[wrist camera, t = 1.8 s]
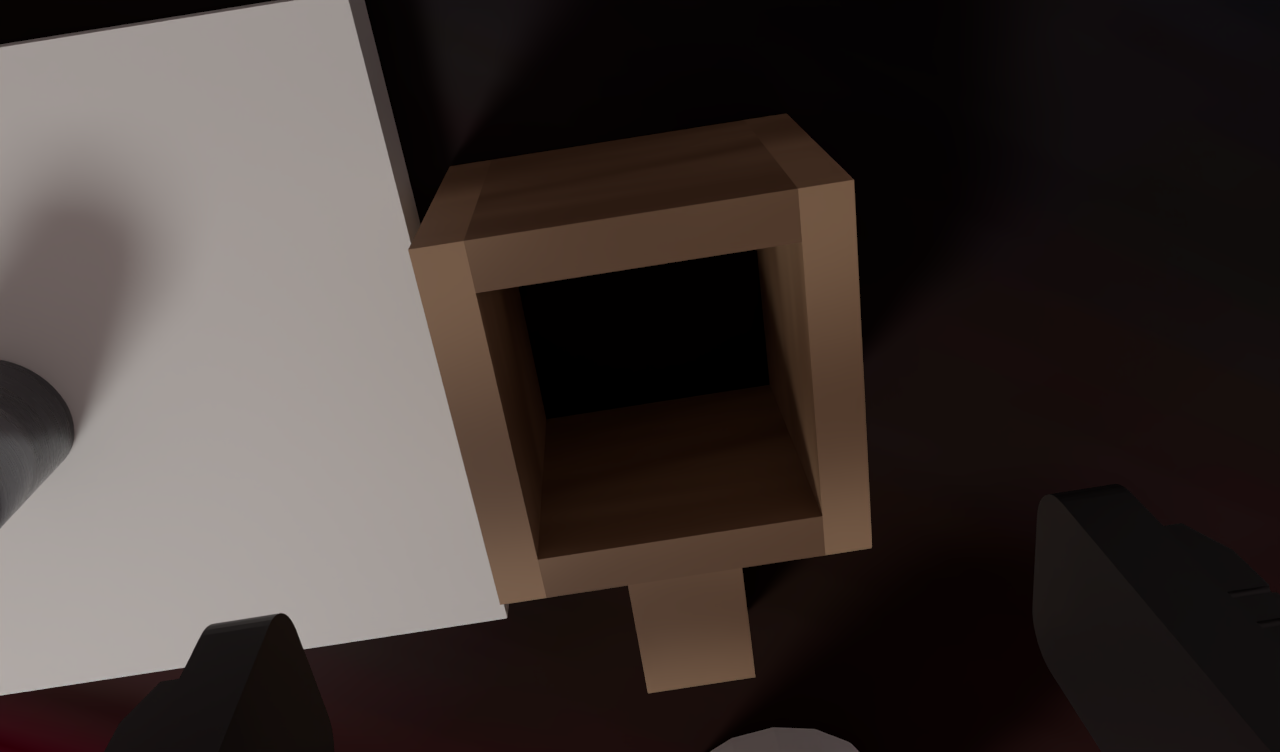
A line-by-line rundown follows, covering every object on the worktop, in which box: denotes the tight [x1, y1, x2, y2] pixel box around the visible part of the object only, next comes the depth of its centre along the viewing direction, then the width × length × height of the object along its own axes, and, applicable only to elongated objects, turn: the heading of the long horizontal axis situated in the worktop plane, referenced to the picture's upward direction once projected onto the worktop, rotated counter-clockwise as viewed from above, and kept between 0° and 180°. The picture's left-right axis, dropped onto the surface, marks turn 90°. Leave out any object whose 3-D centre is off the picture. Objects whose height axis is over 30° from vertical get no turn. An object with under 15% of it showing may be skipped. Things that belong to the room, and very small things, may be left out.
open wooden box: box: [408, 113, 872, 693], centre depth 19 cm, size 12×6×5 cm, turn 8°
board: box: [0, 0, 509, 695], centre depth 19 cm, size 17×13×1 cm
